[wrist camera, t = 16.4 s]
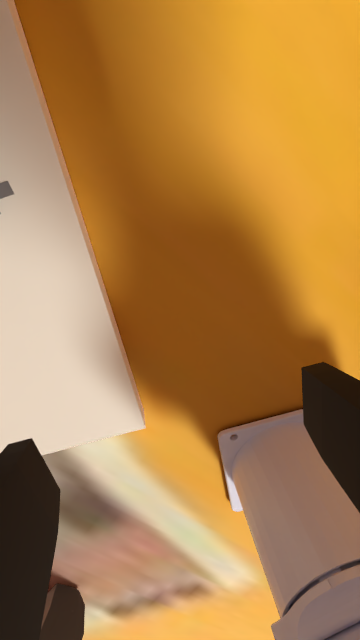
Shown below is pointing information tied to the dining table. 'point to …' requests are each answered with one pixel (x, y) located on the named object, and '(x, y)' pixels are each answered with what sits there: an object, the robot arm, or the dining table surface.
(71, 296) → the marked board
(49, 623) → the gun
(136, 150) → the dining table surface
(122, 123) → the dining table surface
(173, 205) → the dining table surface
